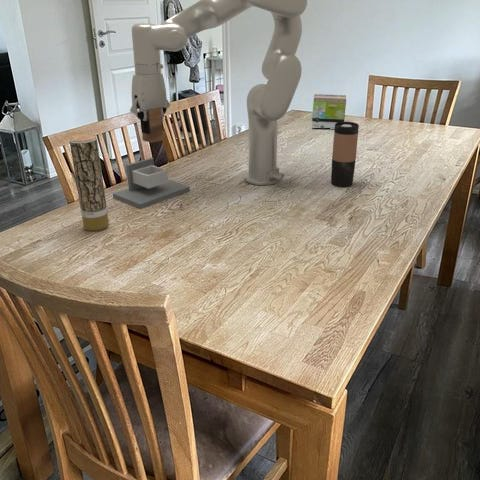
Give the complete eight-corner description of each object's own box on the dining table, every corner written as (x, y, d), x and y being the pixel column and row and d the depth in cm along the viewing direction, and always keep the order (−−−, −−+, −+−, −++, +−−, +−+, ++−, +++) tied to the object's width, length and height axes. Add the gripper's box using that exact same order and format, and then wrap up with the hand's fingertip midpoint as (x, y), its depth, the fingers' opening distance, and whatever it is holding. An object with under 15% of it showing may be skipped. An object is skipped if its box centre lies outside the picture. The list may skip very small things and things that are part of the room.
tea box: (311, 129, 233) (313, 97, 227) (312, 124, 242) (313, 93, 236) (343, 130, 231) (346, 98, 225) (343, 125, 240) (345, 94, 233)
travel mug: (355, 181, 168) (361, 122, 159) (350, 188, 161) (356, 128, 152) (333, 178, 170) (338, 120, 162) (327, 185, 164) (331, 125, 155)
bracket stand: (189, 190, 161) (187, 161, 157) (140, 208, 148) (137, 177, 143) (161, 181, 170) (159, 153, 165) (113, 197, 156) (109, 167, 152)
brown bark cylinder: (102, 232, 133) (89, 141, 122) (79, 231, 134) (63, 140, 123) (113, 222, 139) (101, 134, 128) (90, 220, 140) (77, 133, 129)
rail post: (163, 140, 154) (161, 107, 149) (151, 142, 151) (149, 109, 146) (154, 137, 156) (151, 105, 152) (142, 140, 153) (139, 107, 149)
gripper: (162, 66, 152) (166, 125, 160) (116, 71, 141) (122, 134, 149) (178, 68, 147) (181, 129, 155) (131, 73, 136) (137, 138, 144)
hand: (152, 131), depth 152 cm, fingers closed on rail post, 4 cm apart
